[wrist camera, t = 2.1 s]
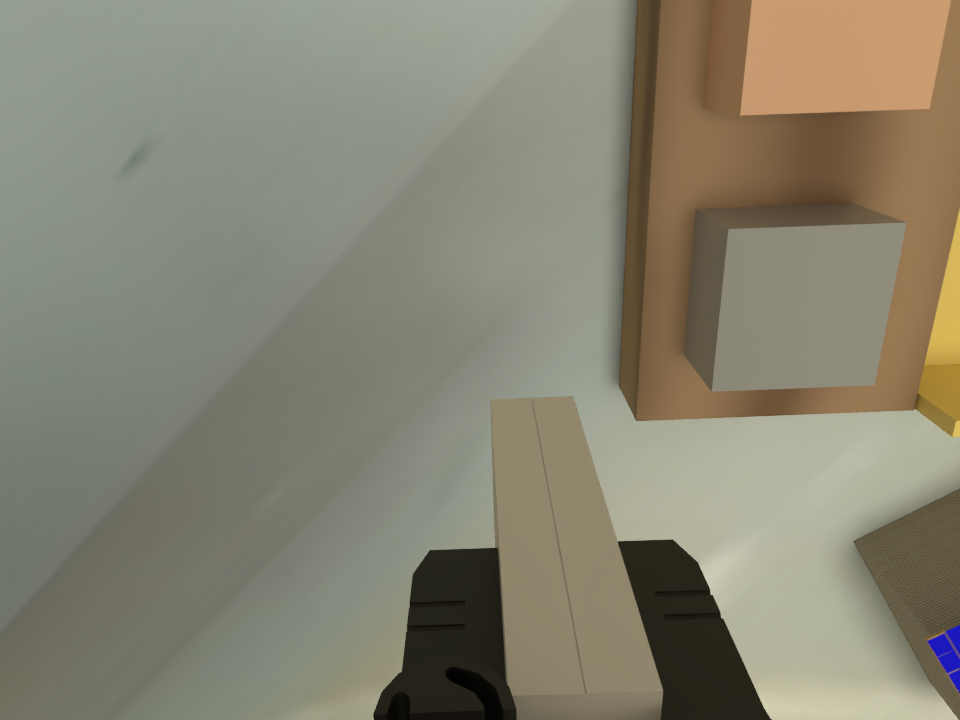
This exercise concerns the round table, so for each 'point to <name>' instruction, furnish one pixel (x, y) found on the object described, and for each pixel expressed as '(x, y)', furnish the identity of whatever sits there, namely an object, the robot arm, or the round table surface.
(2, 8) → the round table surface
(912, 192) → the walnut board
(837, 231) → the grey square block
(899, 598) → the house
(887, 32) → the peach block
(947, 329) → the yellow tray
